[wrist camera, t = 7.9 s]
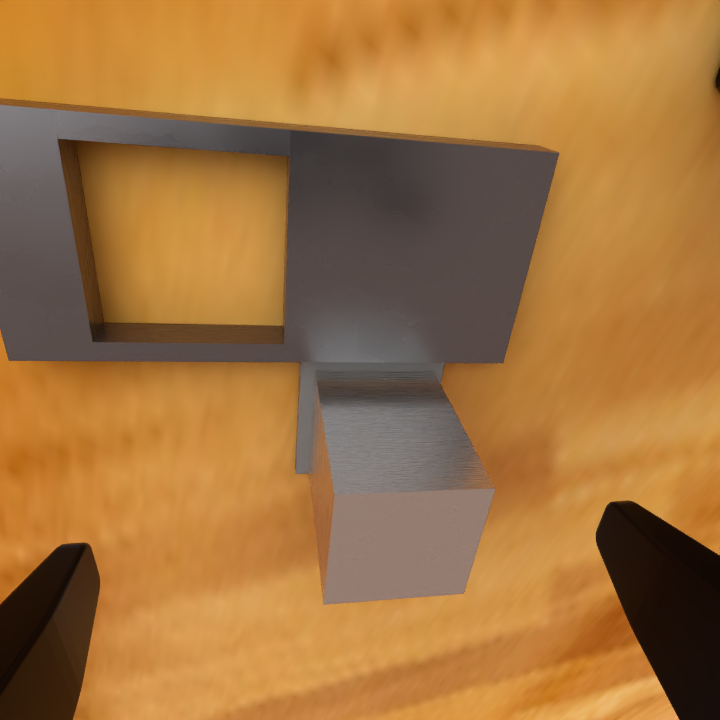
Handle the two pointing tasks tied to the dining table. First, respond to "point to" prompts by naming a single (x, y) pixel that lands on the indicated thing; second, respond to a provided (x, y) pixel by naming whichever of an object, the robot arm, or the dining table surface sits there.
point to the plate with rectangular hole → (302, 241)
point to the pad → (308, 386)
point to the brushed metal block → (392, 487)
